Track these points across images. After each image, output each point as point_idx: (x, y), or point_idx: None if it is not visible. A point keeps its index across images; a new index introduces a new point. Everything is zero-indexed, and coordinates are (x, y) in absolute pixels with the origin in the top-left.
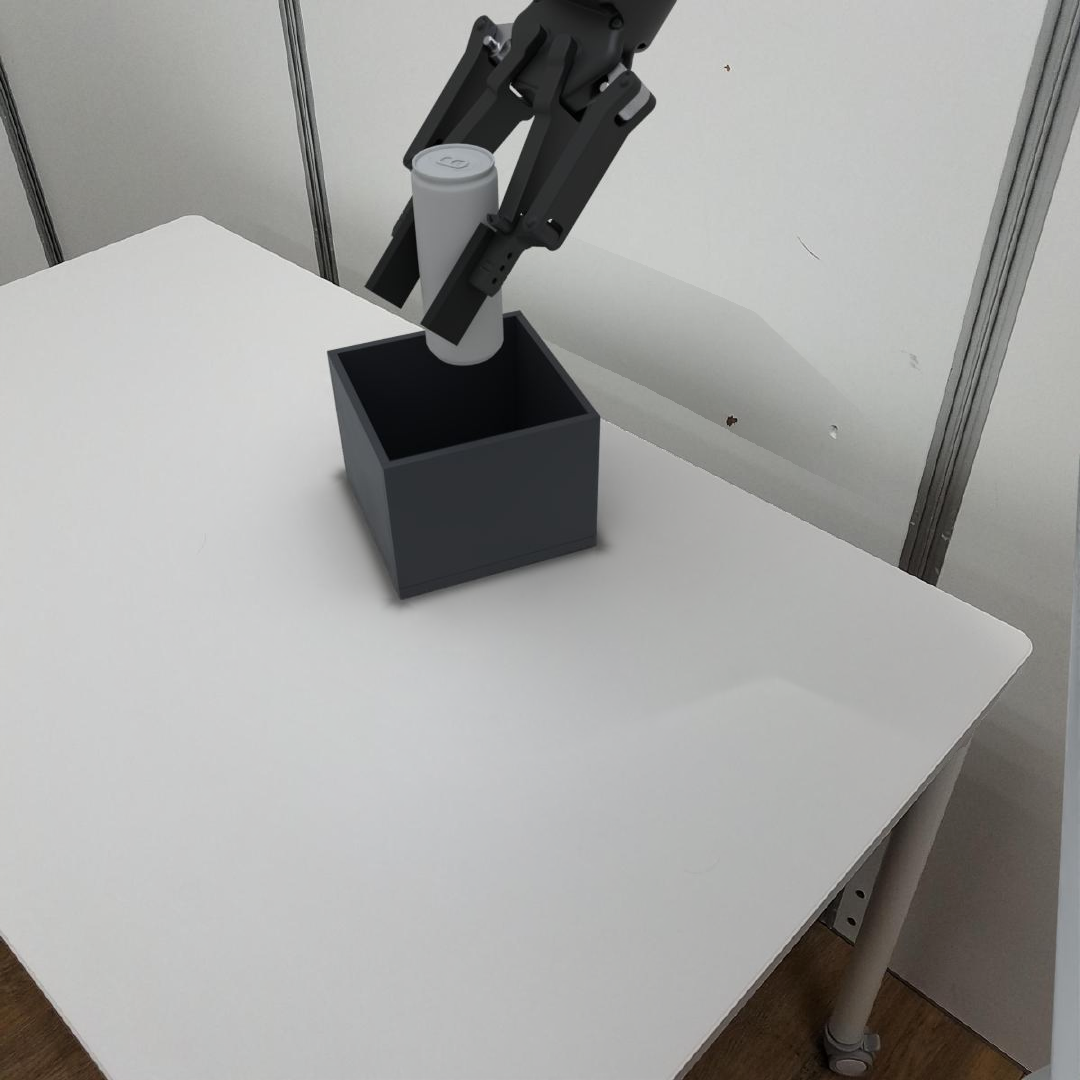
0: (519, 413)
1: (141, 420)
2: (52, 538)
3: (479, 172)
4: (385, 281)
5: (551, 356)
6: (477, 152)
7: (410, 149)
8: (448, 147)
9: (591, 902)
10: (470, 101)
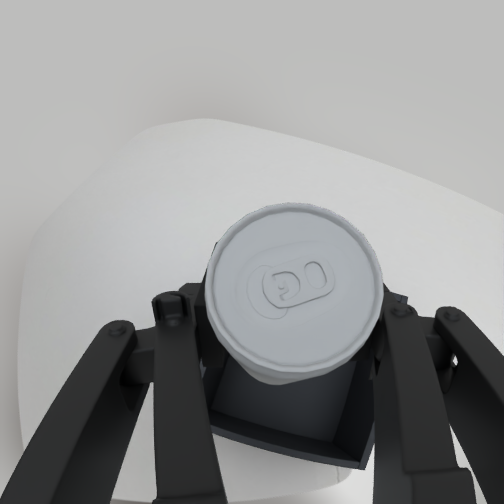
0: (332, 444)
1: (467, 252)
2: (396, 183)
3: (208, 286)
4: None
5: (281, 450)
6: (309, 355)
7: (466, 320)
8: (370, 317)
9: (68, 253)
10: (490, 445)
